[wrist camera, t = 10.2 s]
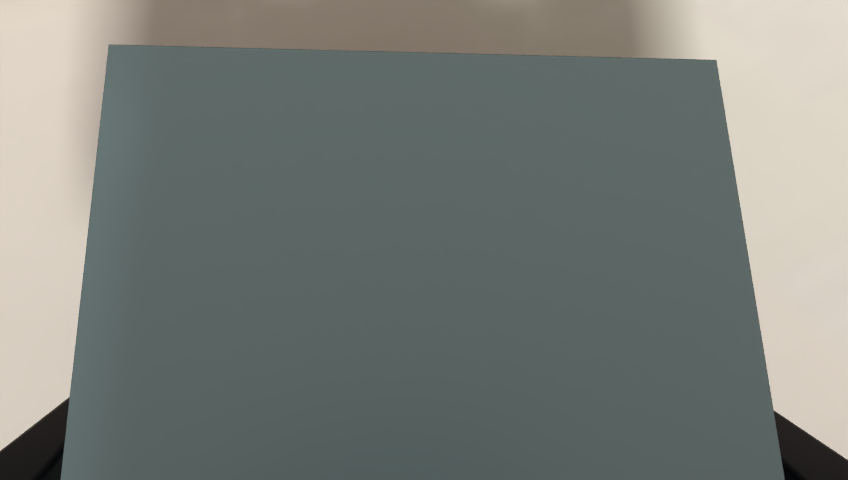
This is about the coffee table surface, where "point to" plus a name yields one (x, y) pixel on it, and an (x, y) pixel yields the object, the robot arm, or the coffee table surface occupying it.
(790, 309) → the coffee table surface
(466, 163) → the grey-blue block
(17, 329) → the coffee table surface
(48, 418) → the robot arm
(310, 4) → the coffee table surface
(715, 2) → the coffee table surface
